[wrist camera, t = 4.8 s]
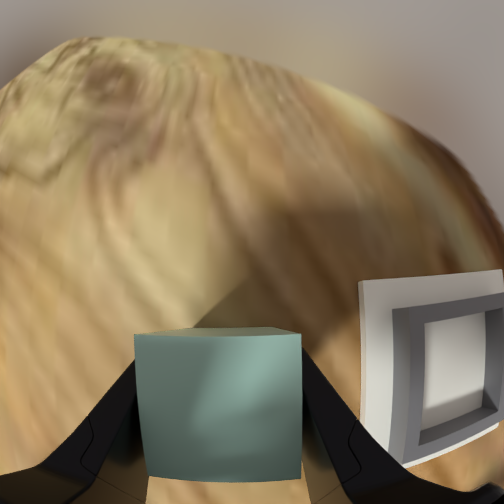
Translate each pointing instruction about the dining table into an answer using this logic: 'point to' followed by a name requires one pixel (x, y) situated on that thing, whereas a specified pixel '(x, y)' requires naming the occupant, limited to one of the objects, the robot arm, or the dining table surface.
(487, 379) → the white grey square base
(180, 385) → the teal green block
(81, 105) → the dining table surface
